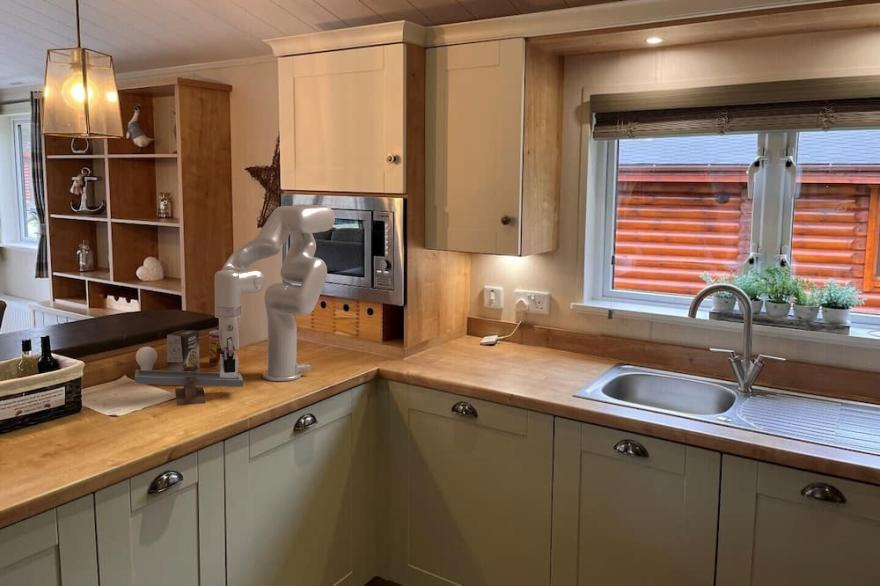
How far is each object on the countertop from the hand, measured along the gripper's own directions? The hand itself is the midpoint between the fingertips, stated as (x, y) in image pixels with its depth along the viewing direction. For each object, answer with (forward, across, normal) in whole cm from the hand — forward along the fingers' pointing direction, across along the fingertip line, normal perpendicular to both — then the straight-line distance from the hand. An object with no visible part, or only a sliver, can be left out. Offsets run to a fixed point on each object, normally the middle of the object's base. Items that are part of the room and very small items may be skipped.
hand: (228, 368), depth 214 cm
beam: (+3, 0, +11) cm, 12 cm away
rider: (+3, 0, 0) cm, 3 cm away
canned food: (+9, +36, -1) cm, 37 cm away
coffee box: (+9, +19, +12) cm, 24 cm away
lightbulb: (+9, +23, +23) cm, 34 cm away
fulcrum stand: (+9, 0, +11) cm, 14 cm away
